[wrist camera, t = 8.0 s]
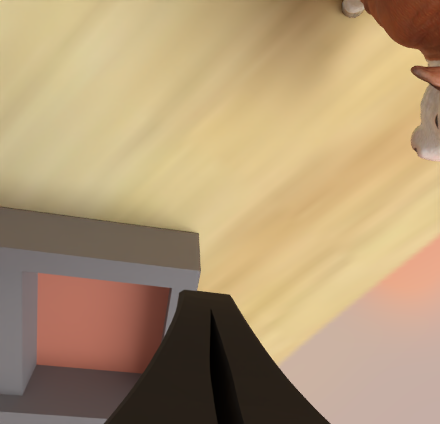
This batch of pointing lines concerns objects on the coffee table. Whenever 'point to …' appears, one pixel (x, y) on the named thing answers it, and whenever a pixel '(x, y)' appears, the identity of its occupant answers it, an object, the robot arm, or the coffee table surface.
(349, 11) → the bull figurine
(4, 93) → the coffee table surface
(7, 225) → the trap runway
